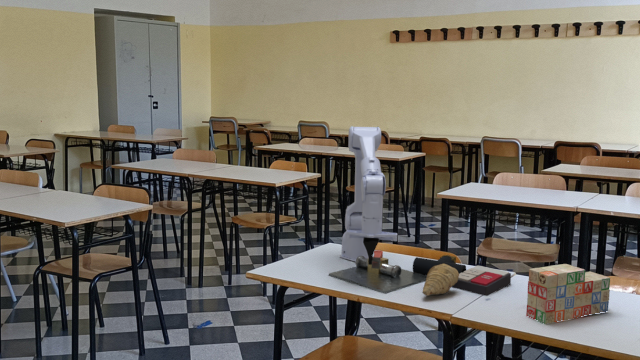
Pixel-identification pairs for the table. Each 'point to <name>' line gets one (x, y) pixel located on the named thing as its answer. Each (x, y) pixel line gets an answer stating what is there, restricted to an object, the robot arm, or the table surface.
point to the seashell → (440, 279)
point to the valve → (379, 276)
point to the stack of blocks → (565, 293)
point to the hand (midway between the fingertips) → (370, 263)
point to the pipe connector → (425, 265)
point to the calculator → (483, 280)
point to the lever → (377, 259)
